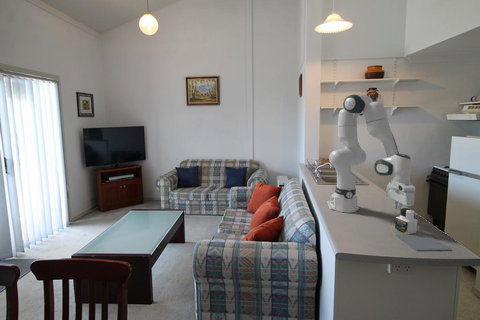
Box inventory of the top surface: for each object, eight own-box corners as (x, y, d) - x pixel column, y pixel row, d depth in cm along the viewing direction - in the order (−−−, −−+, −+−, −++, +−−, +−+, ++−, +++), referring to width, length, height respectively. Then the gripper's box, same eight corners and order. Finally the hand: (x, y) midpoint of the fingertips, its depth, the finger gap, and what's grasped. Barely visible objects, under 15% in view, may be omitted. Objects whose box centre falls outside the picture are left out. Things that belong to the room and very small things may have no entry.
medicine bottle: (394, 229, 149) (396, 207, 147) (404, 227, 151) (406, 206, 149) (406, 235, 142) (408, 212, 140) (416, 233, 144) (419, 210, 142)
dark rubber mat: (395, 235, 141) (395, 234, 141) (427, 235, 142) (427, 234, 142) (416, 250, 126) (416, 249, 125) (451, 250, 126) (451, 249, 126)
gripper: (383, 179, 161) (382, 203, 163) (405, 189, 141) (403, 215, 143) (394, 179, 161) (392, 203, 164) (418, 189, 141) (415, 215, 143)
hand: (397, 209), depth 153 cm, fingers closed
